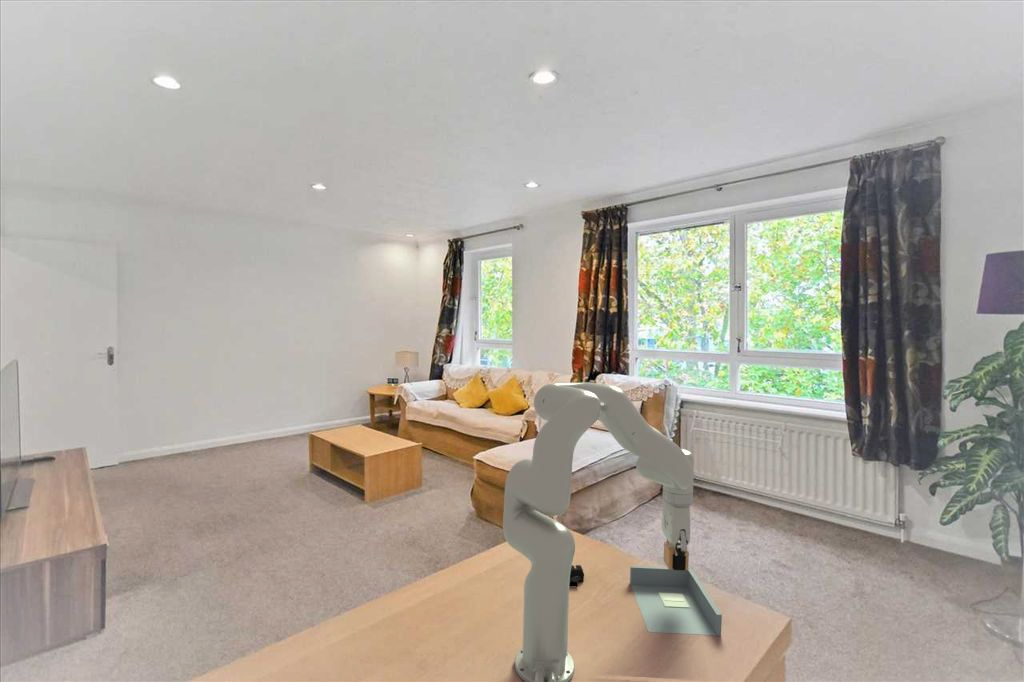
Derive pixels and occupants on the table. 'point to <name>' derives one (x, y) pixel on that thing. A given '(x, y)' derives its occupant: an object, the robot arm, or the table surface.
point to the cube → (669, 555)
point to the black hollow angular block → (576, 572)
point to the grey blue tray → (674, 601)
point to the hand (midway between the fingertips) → (675, 563)
